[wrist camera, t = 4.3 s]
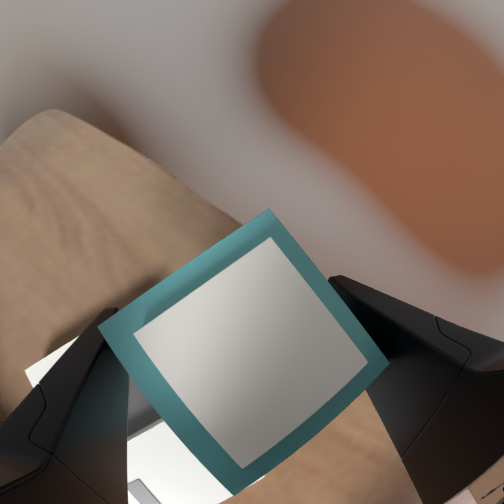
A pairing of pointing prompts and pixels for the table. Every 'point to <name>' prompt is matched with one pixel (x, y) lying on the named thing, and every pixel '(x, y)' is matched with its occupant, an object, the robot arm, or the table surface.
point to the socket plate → (153, 453)
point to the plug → (245, 351)
